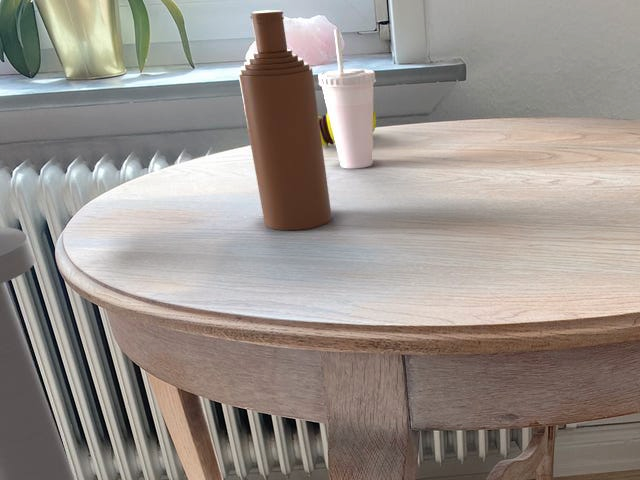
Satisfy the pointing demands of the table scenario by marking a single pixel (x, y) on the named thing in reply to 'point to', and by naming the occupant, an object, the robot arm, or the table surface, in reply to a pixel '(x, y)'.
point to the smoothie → (350, 111)
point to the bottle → (284, 130)
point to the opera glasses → (327, 129)
